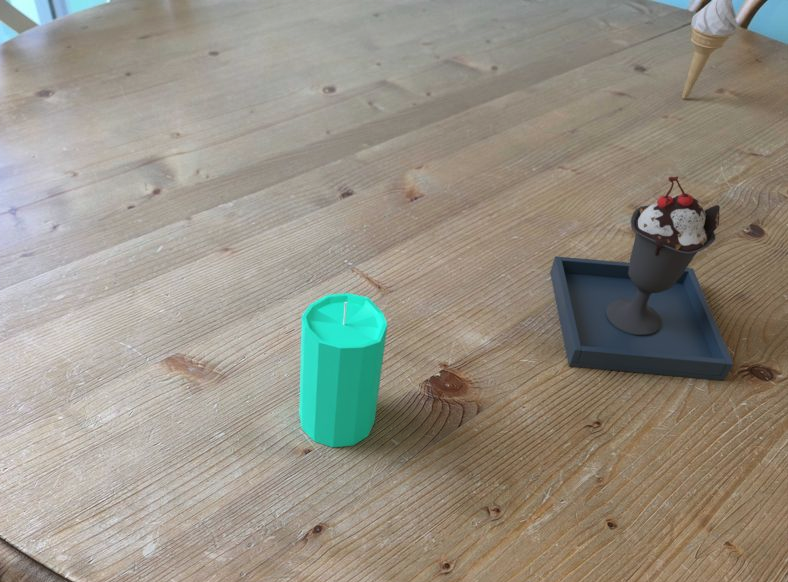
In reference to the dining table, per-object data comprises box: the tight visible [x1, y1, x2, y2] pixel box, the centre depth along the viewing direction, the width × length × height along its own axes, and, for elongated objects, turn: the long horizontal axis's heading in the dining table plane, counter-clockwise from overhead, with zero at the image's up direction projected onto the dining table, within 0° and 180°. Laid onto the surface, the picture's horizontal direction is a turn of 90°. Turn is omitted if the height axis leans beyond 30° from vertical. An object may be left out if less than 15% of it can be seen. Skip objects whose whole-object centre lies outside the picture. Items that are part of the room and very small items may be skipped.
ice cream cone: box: [681, 0, 739, 100], centre depth 98 cm, size 6×6×15 cm
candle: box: [298, 292, 388, 448], centre depth 55 cm, size 6×6×12 cm
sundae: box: [606, 175, 721, 336], centre depth 63 cm, size 7×7×15 cm
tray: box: [549, 256, 734, 381], centre depth 68 cm, size 13×13×2 cm
